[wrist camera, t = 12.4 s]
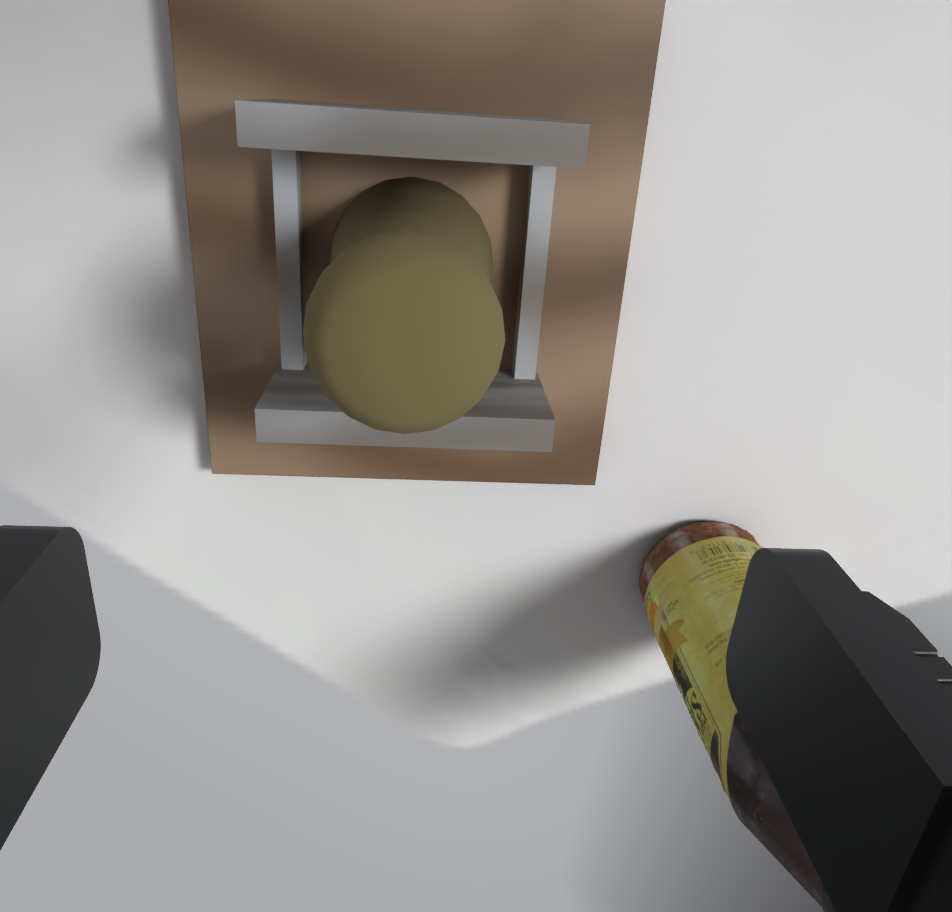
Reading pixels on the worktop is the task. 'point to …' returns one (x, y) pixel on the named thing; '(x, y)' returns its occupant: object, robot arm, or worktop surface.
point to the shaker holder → (424, 156)
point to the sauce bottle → (718, 674)
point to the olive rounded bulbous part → (406, 309)
